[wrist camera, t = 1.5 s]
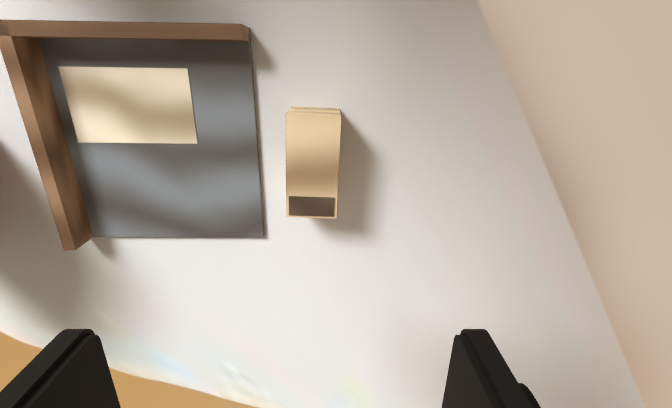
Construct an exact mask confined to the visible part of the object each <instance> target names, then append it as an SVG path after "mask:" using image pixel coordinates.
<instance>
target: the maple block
mask: <svg viewBox="0 0 672 408" xmlns="http://www.w3.org/2000/svg"><path fill="white" fill-rule="evenodd" d="M285 124H286V217H302V218H334V219H336V217H337V196H338V176H339V155H340V134H341V114H340V109H334V108H311V107H291V109H290V110H289V111H288V112H287V113H286V115H285Z"/></svg>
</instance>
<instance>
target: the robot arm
mask: <svg viewBox="0 0 672 408" xmlns="http://www.w3.org/2000/svg"><path fill="white" fill-rule="evenodd" d="M0 408H120V404H119V401H118V397H117V394H116V390H115V387H114V384H113V380H112V377H111V374H110V370H109V367H108V364H107V360H106V357H105V354H104V350H103V347H102V344H101V340H100V338H99V336H98V335H95V334H94V332H93V331H92V330H91V329H66V330H63V331H62V332H60V333H59V334H58V335H57V336H56V337H55V338H54V339H53V340H52V341H51V342H50V343H49V344H48V345H47V346H46V347H45V348H44V349H43V350H42V351H41V352H40V353H39V354H38V355H37V356H36V357H35V358H34V359H33V360H32V361H31V362H30V363H29V364H28V365H27V366H26V367H25V368H24V369H23V370H22V371H21V372H20V373H19V374H18V375H17V376H16V377H15V378H14V379H13V380H12V381H11V382H10V383H9V384H8V385H7V386H6V387H5V388H4V389H3V390H2V391H1V392H0ZM442 408H541V407H540V406H539V404H538V402H537V401H536V399H535V398H534V396H533V394H532V393H531V391H530V390H529V389H528V387H526V386H525V385H524V384H522V383H518V382H517V381H516V379H515V377H514V375H513V374H512V372H511V370H510V369H509V367H508V365H507V364H506V362H505V360H504V359H503V357H502V355H501V353H500V352H499V350H498V348H497V347H496V345H495V343H494V342H493V340H492V338H491V336H490V335H489V333H488V332H487V331H486V330H485V329H463V330H462V331H461V334H460V335H456V336H455V337H454V342H453V348H452V353H451V359H450V364H449V370H448V376H447V381H446V387H445V392H444V398H443V404H442Z"/></svg>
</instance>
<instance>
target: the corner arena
mask: <svg viewBox="0 0 672 408" xmlns="http://www.w3.org/2000/svg"><path fill="white" fill-rule="evenodd" d="M0 49H1V52H2V55H3V58H4V62H5V65H6V68H7V71H8V74H9V77H10V81H11V84H12V87H13V90H14V93H15V96H16V100H17V103H18V106H19V109H20V112H21V115H22V119H23V122H24V125H25V128H26V131H27V134H28V137H29V141H30V144H31V147H32V150H33V153H34V156H35V160H36V163H37V166H38V169H39V172H40V175H41V179H42V182H43V185H44V188H45V191H46V194H47V198H48V201H49V204H50V207H51V210H52V213H53V216H54V220H55V223H56V226H57V229H58V232H59V235H60V239H61V242H62V245H63V248H64V250H76V249H77V248H79V247H80V246H81V245H83V244H84V243H86V242H87V241H88V240H90V239H91V238H92V237H264V225H263V211H262V197H261V183H260V169H259V154H258V140H257V126H256V112H255V97H254V83H253V69H252V55H251V41H250V28H249V27H247V26H244V25H242V24H215V23H158V22H102V21H45V20H0Z"/></svg>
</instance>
